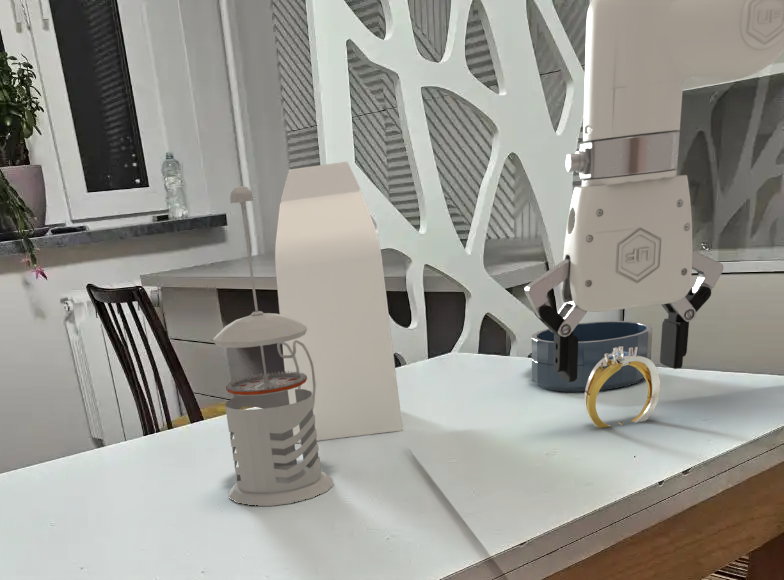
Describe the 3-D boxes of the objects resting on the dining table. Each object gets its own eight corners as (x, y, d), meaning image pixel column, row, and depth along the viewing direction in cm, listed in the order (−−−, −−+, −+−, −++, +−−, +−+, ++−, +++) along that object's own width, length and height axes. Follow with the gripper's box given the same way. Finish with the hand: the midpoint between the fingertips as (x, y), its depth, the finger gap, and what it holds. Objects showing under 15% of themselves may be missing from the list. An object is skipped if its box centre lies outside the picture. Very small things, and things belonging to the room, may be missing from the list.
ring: (591, 443, 84) (593, 355, 80) (578, 435, 87) (579, 349, 83) (664, 433, 84) (669, 344, 81) (649, 425, 87) (653, 339, 84)
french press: (206, 502, 82) (153, 197, 71) (275, 464, 91) (237, 187, 80) (298, 509, 77) (256, 182, 66) (361, 468, 86) (334, 173, 75)
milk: (291, 443, 97) (256, 172, 86) (291, 419, 107) (260, 174, 96) (402, 430, 97) (382, 155, 85) (392, 406, 107) (373, 159, 95)
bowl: (622, 362, 113) (623, 316, 111) (669, 382, 101) (672, 331, 99) (518, 377, 113) (517, 331, 110) (553, 398, 101) (553, 347, 99)
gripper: (541, 173, 72) (539, 392, 79) (754, 148, 72) (732, 368, 80) (513, 175, 78) (514, 377, 86) (709, 152, 79) (692, 355, 87)
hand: (619, 372), depth 83 cm, fingers open, 9 cm apart
